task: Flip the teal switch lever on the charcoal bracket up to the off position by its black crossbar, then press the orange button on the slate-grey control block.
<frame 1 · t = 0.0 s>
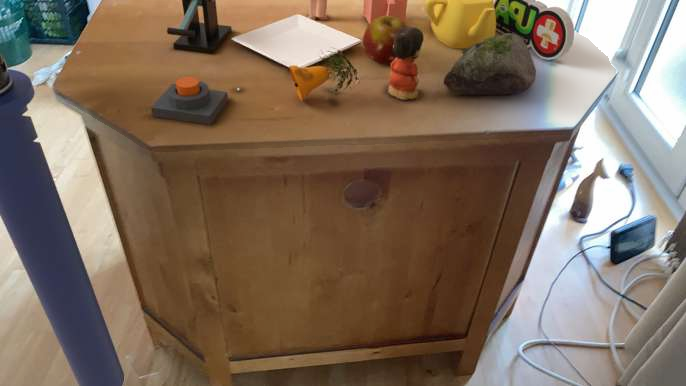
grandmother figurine: (319, 18, 126), on the table
pink blocky piece: (382, 22, 126), on the table
button: (188, 86, 91), point 4 cm above the table, slide at 0.2 cm
teapot: (454, 38, 121), on the table
fruit: (384, 60, 111), on the table
switch bracket: (203, 40, 114), on the table
switch lever: (190, 12, 106), point 7 cm above the table, hinge at -20.0°
figurine: (402, 94, 101), on the table
plate: (297, 49, 113), on the table
stone: (483, 84, 105), on the table
sign: (523, 45, 119), on the table
control block: (191, 108, 94), on the table
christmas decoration: (298, 100, 98), on the table
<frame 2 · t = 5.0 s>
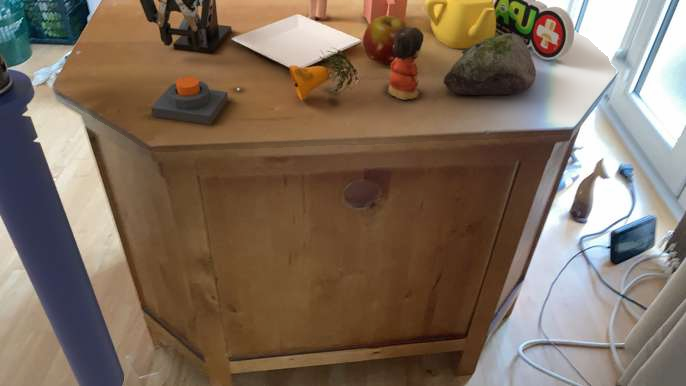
hand: (183, 45, 105), 3 cm above the table, tool pointing down, fingers closed on switch lever, 5 cm apart
switch lever: (190, 12, 106), point 7 cm above the table, hinge at -20.0°, touching gripper
everything else where it was.
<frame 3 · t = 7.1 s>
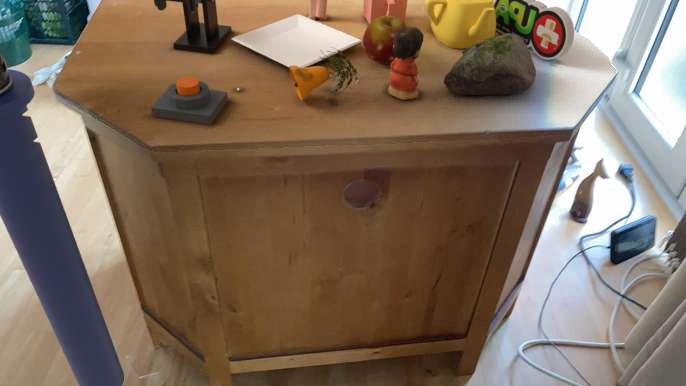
hand: (177, 10, 101), 10 cm above the table, tool pointing down, fingers closed on switch lever, 5 cm apart
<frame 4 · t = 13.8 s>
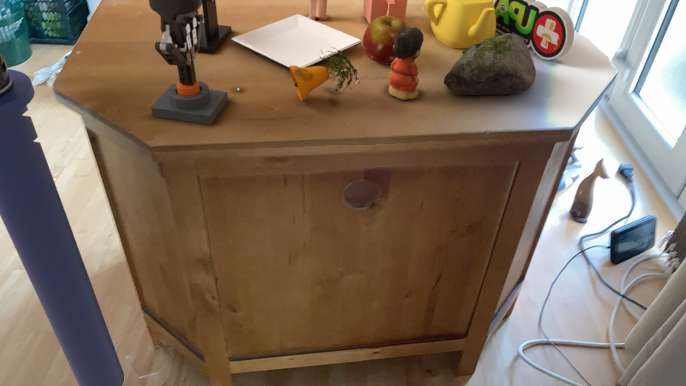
hand: (188, 83, 91), 5 cm above the table, tool pointing down, fingers closed
button: (188, 88, 92), point 4 cm above the table, slide at -0.1 cm, touching gripper
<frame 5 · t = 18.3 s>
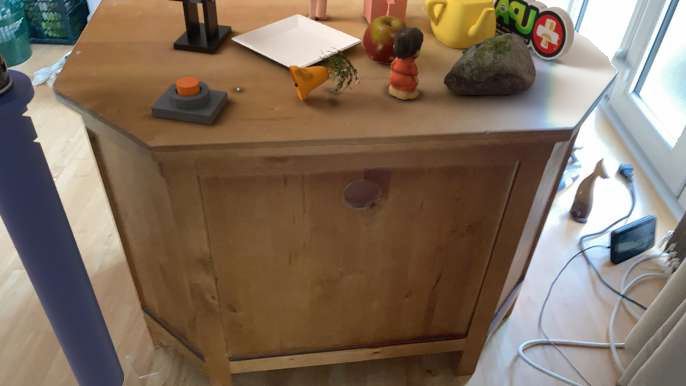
button: (188, 86, 91), point 4 cm above the table, slide at 0.2 cm
at the end: switch lever at +18° (first picture: -20°); button pushed in 1.1 cm at the most during the clip, back to 0.2 cm at the end; button slide at 0.2 cm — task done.
